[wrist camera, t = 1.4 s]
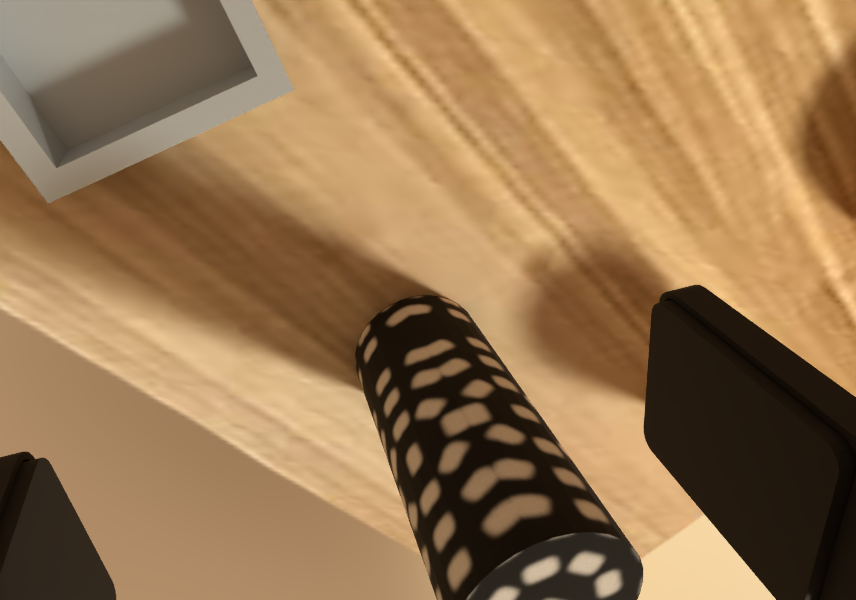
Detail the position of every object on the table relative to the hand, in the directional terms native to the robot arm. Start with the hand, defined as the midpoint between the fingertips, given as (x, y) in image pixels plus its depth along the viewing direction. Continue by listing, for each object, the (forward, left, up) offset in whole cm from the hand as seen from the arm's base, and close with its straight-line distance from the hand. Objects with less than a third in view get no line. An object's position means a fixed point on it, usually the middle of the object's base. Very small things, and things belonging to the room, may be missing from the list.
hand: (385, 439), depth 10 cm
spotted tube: (-2, +19, -28) cm, 34 cm away
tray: (+4, -6, -28) cm, 29 cm away
